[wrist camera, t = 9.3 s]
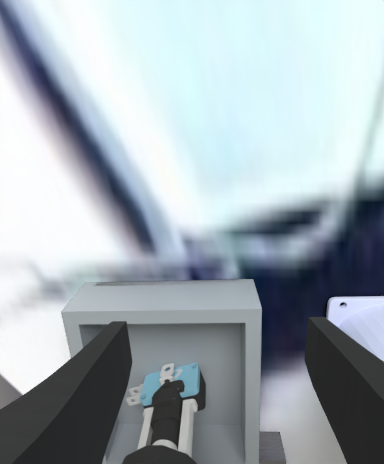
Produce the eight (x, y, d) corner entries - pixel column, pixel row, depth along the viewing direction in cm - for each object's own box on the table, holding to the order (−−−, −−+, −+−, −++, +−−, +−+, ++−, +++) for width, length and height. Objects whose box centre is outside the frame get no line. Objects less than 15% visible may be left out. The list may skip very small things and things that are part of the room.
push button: (143, 409, 26) (104, 565, 17) (119, 362, 25) (62, 503, 15) (215, 393, 25) (217, 550, 16) (194, 343, 24) (184, 483, 14)
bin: (253, 279, 22) (261, 308, 18) (251, 427, 27) (258, 475, 23) (85, 282, 23) (61, 311, 19) (112, 425, 28) (96, 471, 24)
